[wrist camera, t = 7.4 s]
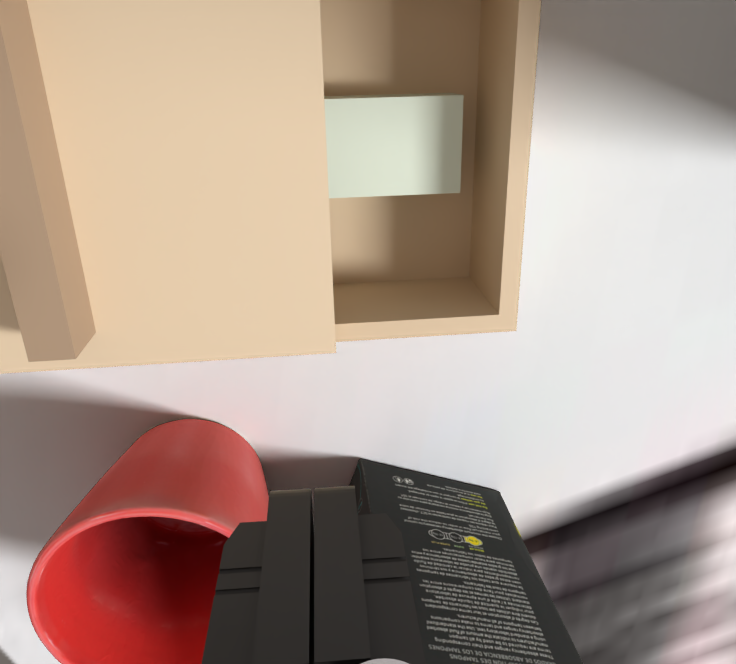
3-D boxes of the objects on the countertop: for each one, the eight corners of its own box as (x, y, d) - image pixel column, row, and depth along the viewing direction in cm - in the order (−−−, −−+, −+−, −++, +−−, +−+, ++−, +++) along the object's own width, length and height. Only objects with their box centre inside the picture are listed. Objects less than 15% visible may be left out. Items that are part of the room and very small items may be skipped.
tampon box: (441, 618, 42) (507, 879, 29) (306, 595, 40) (310, 863, 27) (505, 485, 38) (616, 715, 25) (360, 453, 36) (395, 683, 23)
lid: (315, -76, 21) (317, -100, 18) (335, 344, 26) (339, 379, 24) (-355, -72, 19) (-475, -96, 16) (-175, 375, 25) (-238, 417, 22)
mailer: (496, -48, 27) (546, -76, 21) (479, 285, 33) (516, 330, 27) (8, -43, 25) (-73, -72, 20) (82, 307, 31) (36, 359, 26)
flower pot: (122, 564, 38) (67, 720, 29) (70, 405, 33) (-13, 530, 24) (300, 538, 38) (300, 683, 29) (272, 379, 34) (262, 492, 25)
